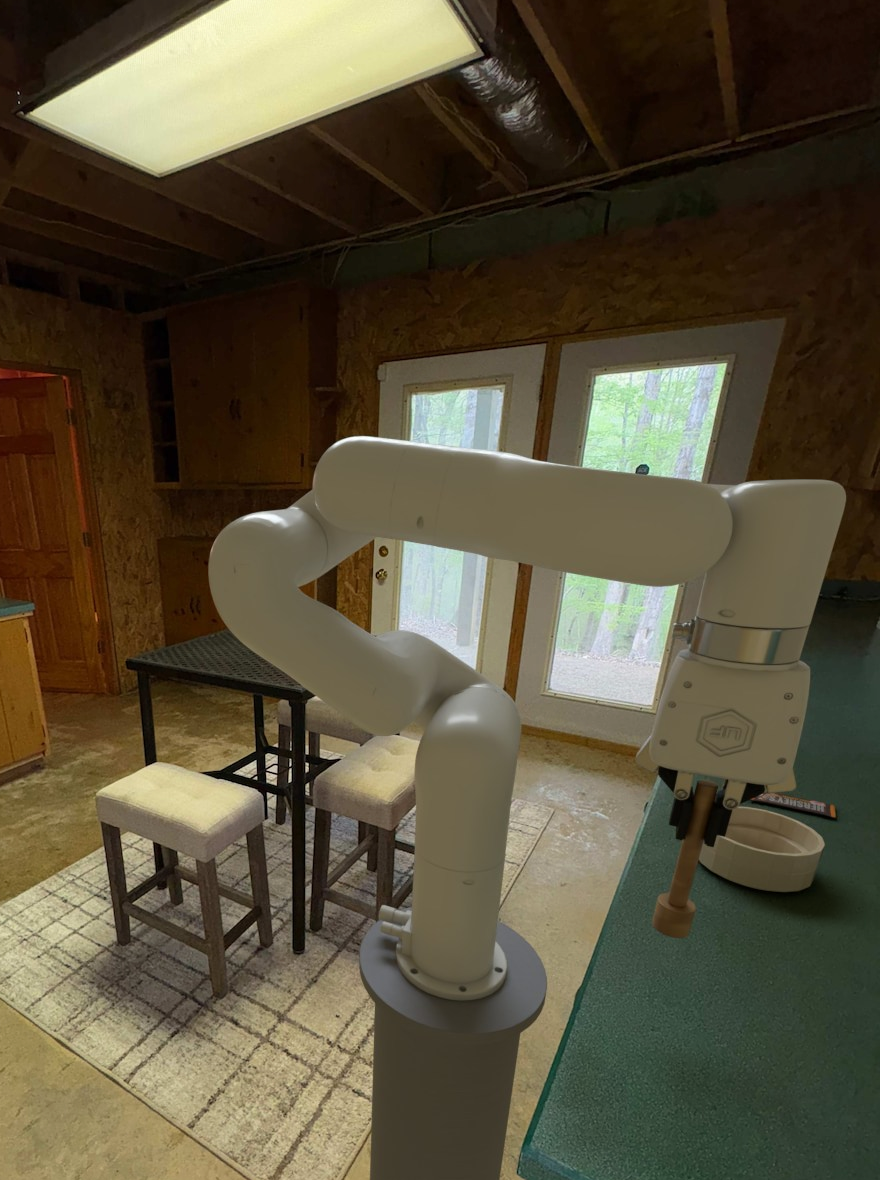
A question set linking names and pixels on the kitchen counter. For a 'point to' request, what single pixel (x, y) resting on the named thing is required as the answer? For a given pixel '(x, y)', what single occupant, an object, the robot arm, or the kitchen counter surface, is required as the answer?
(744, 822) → the bowl
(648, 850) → the kitchen counter surface
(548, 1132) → the kitchen counter surface
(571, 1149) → the kitchen counter surface
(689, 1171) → the kitchen counter surface
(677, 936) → the stick
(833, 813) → the chocolate bar
